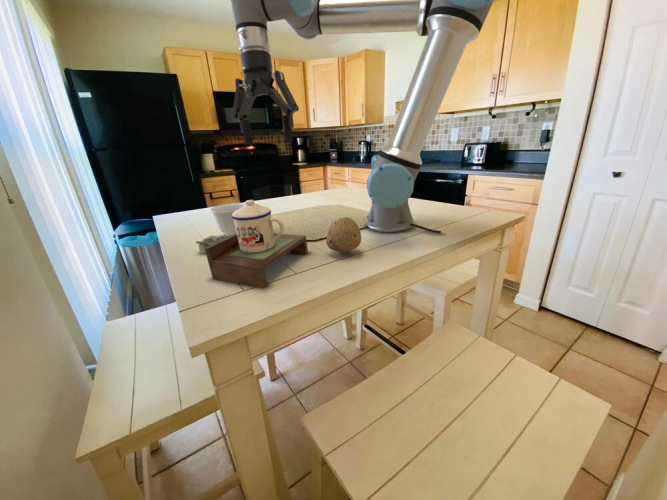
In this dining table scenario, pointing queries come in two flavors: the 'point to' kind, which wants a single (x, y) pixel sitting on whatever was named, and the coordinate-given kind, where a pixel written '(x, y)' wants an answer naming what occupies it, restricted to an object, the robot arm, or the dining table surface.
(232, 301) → the dining table surface
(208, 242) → the egg carton
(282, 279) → the dining table surface
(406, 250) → the dining table surface
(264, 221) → the teacup with lid
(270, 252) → the shelf
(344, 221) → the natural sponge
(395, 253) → the dining table surface
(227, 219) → the teacup
